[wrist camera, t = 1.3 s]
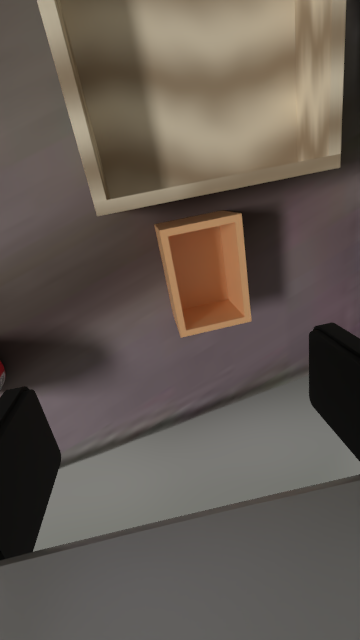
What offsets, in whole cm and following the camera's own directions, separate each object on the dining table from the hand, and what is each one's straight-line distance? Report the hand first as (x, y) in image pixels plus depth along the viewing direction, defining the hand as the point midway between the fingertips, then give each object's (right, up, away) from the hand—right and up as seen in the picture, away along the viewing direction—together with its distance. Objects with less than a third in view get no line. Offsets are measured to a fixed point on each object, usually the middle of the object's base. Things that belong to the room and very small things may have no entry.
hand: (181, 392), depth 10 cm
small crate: (+2, +8, +22) cm, 24 cm away
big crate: (+1, +23, +15) cm, 28 cm away
